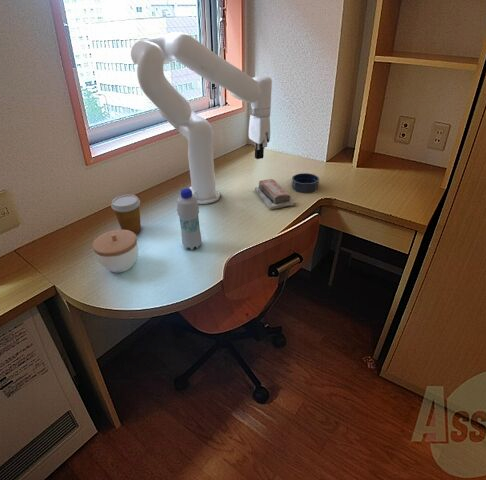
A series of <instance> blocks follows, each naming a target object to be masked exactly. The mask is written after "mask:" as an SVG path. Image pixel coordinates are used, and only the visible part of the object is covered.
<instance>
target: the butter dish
mask: <svg viewBox="0 0 486 480" xmlns="http://www.w3.org/2000/svg"><path fill="white" fill-rule="evenodd" d="M254 192H255V193H256V194H257V195H258V196H259V198H260V199H261V200H262V202H263V203H265V205H266V206H267V207H268V208H269V209H270V210H272V211H273V210H276V209H281V208H285V207H290V206H292V207H293V206H296V202H295V201H294V200H293V199H292V198H291V195H290V194H289V193H288V192H287V191H286V190H285V189H284V188H283V186H281V185H280V184H279V183H278V182H277V181H276V180H275V179H274V178H268V179H262V180H259V181H258V187H254Z"/></svg>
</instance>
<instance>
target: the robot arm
mask: <svg viewBox="0 0 486 480" xmlns="http://www.w3.org/2000/svg"><path fill="white" fill-rule="evenodd" d="M130 57H131V60H132V62H133V64H134V65H135V66H136V74H137V75H136V76H137V81H138V85H139V87H140V89H141V91H142V92H143V93H144V95H145V96H146V97H147V98H148V100H149V101H151V102H152V104H154V105H155V107H156V108H157V110H158V112H159V114H160V115H161V116H162V117H163V118H164V120H166V121H167V122H168V123H169V124H170V125H171V126H172V127H173V128H174V129H175V130H176V131H177V132H178V133H179V134H180V135H181V136H183V137H184V138H185V139H186V140H187V142H188V143H187V144H188V145H187V159H188V167H189V176H190V185H191V186H189V188H188V189H190V190H191V191H192V196H194V197H196V199H197V202H198V205H209V204H212V203H214V202H217V201H218V200H219V199H220V197H221V194H220V192H219V191H218V190H217V189H216V177H215V176H216V175H215V160H214V139H215V137H214V136H215V133H214V128H213V126H212V124H211V123H210V122H209V121H208V119H206V118H204V117H203V116H200V115H199V114H197V113H196V112H195V111H194V110H193V109H192V107H191V105H190V103H189V101H188V100H187V99H186V98H185V97H184V96H183V95H182V94H181V93H180V92H179V91H178V90H177V89H176V88H175V87H174V86H173V85H172V84H171V82H170V81H168V79H167V78H166V76H165V73H164V65H165V64H168V63H172V62H175V61H176V62H178V63H179V64H181V65H183V66H184V67H186V68H187V69H189V70H191V71H192V72H193V73H195V74H197V76H200V77H201V78H203V79H204V80H206V81H208V82H209V83H211V84H214V85H216V86H219V87H221V88H224V89H225V90H227V91H229V93H230V95H231V96H232V97H233V98H235V99H237V100H239V101H242V102H245V103H247V104H250V115H249V116H250V117H249V124H248V139H249V140H250V141H252V142H253V147H254V158H255V159H256V160H261V159H264V155H265V154H264V153H265V148H268V143H270V141H271V110H272V109H271V107H272V87H273V86H272V85H273V81H272V78H271V77H270V76H266V75H259V76H254V77H252V76H250V75H249V74H248V73H246V72H245V71H243V70H241V69H240V68H238V67H237V66H235V65H234V64H232V63H231V62H228V61H227V60H226V59H224V58H223V57H221V56H220V55H218V54H217V53H215V52H214V51H212V50H211V49H209V48H208V47H207V46H205V45H204V44H203V43H201V42H200V41H199V40H197V39H196V38H194V36H191V35H190V34H188V33H185V32H178V31H174V32H170V33H166V34H162V35H158V36H154V37H150V38H145V39H141V40H138V41H136V42H135V43H134V44H132V47H131V50H130ZM179 194H180V196H181V191H180V193H179Z"/></svg>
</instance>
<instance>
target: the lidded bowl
mask: <svg viewBox="0 0 486 480" xmlns="http://www.w3.org/2000/svg"><path fill="white" fill-rule="evenodd" d="M92 250H93V252H94V255H95V257H96V259H97V261H98V263H99V264H100V265H101V266H102V267H103V269H106V270H107V271H110V272H112V273H116V274H120V273H125V272H127V271H128V270H130V269H131V268H132V267H133V266H134V264H135V263H136V261H137V260H138V256H139V243H138V237H137V234H135V233H133V232H132V231H129V230H122V229H114V230H113V229H112V230H110V231H109V230H108V231H107V232H104V233H102V234H100V235H99V236H97V237H96V238H95V239H94V240H93V243H92Z"/></svg>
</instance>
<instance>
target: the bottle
mask: <svg viewBox="0 0 486 480" xmlns="http://www.w3.org/2000/svg"><path fill="white" fill-rule="evenodd" d="M180 192H181V195H180V197H178V198H177V200H176V212H177V215H178V217H179V218H178V219H179V226H180V234H181V243H182V246H183V247H184V248H185V249H186V250H188V249H190V250H191V251H192V250H194V249H198V248H200V246H201V245H202V243H203V242H202V233H201V227H200V218H199V217H200V215H199V213H200V207H199V204H198V202H197V199H196V197H194V196H192V191H191V190H190V188H183V189H181V190H180Z"/></svg>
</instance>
